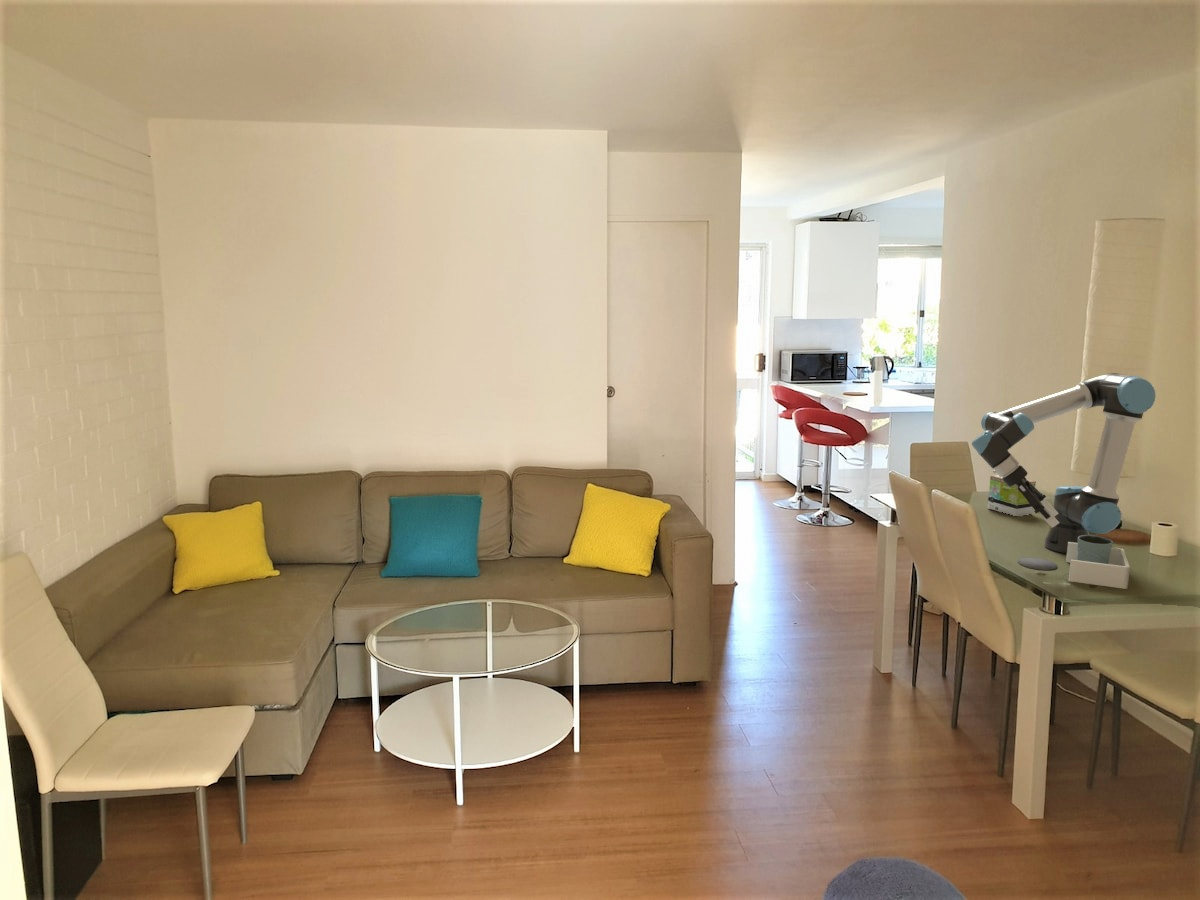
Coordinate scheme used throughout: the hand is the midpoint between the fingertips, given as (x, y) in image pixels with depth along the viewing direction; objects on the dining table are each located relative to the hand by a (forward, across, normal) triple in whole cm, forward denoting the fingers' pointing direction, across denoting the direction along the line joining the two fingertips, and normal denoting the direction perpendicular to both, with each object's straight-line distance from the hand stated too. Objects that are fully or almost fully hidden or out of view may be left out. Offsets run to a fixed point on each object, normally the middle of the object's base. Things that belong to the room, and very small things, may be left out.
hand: (1055, 520), depth 291 cm
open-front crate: (+21, 0, -2) cm, 21 cm away
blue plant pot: (+21, 0, -3) cm, 21 cm away
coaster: (+9, -3, -14) cm, 18 cm away
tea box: (+2, -77, -22) cm, 80 cm away
